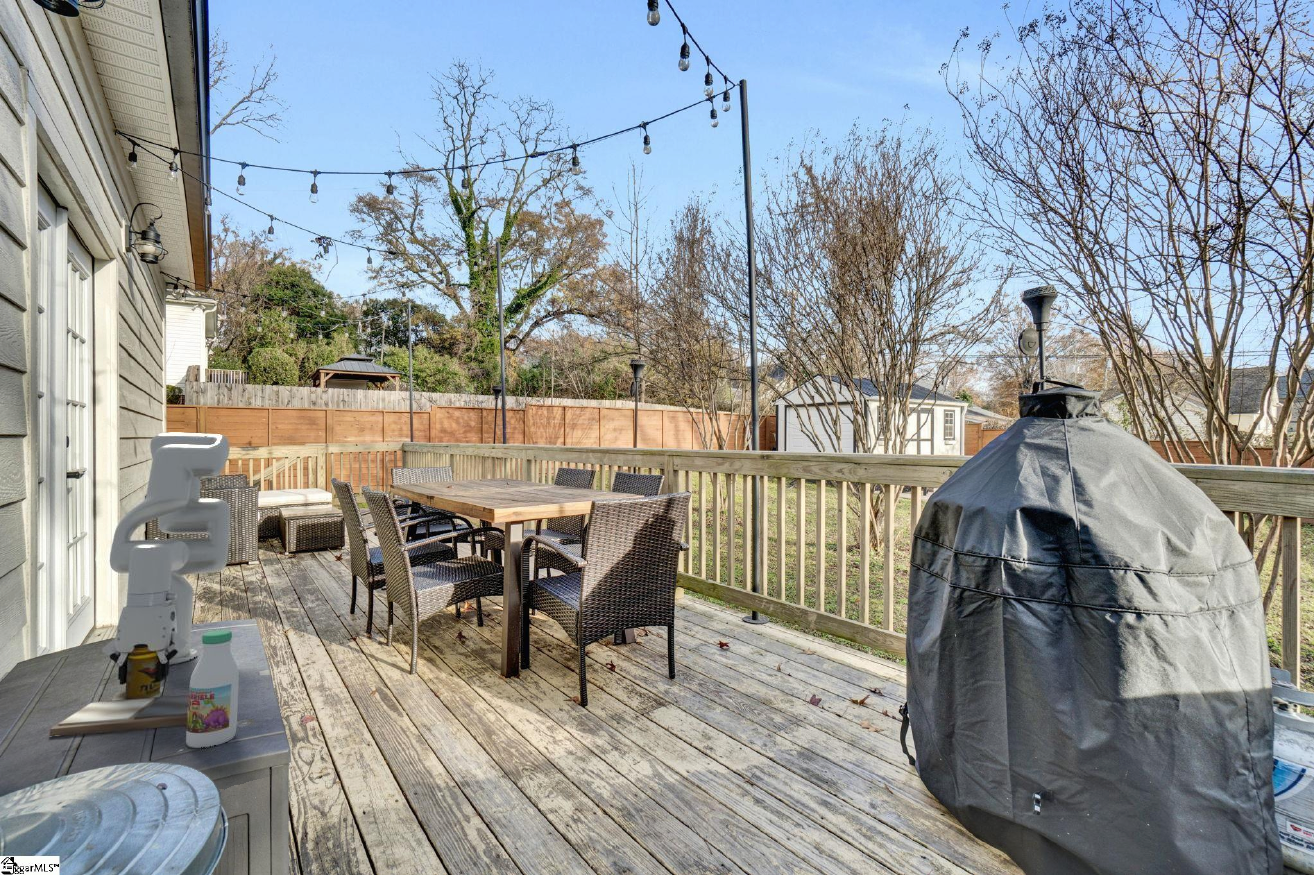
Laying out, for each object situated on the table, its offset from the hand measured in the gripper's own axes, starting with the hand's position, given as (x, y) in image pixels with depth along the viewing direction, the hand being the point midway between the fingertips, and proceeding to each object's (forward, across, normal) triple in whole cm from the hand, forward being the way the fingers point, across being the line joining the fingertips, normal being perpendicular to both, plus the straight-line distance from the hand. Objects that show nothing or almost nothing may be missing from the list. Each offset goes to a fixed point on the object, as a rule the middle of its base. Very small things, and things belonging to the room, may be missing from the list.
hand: (143, 680), depth 138 cm
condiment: (+3, +1, 0) cm, 4 cm away
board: (+3, -6, +14) cm, 15 cm away
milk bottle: (+4, -23, +30) cm, 38 cm away
